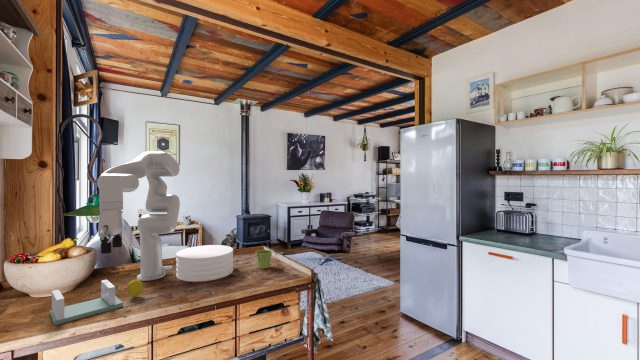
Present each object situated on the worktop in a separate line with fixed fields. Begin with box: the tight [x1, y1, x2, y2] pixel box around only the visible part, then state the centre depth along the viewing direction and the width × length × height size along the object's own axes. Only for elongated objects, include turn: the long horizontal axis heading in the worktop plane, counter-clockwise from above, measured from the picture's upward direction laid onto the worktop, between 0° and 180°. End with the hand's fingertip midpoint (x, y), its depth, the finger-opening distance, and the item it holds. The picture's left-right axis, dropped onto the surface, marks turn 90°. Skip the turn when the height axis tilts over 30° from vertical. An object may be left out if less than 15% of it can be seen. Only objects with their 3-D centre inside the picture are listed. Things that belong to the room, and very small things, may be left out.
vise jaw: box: [100, 279, 116, 306], centre depth 118 cm, size 2×12×7 cm, turn 48°
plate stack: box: [175, 244, 234, 282], centre depth 159 cm, size 28×28×12 cm
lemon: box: [126, 278, 144, 299], centre depth 126 cm, size 6×6×8 cm
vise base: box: [49, 289, 124, 326], centre depth 114 cm, size 20×12×8 cm, turn 138°
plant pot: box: [254, 249, 273, 270], centre depth 167 cm, size 9×9×9 cm
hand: (111, 250), depth 117 cm, fingers open, 9 cm apart
